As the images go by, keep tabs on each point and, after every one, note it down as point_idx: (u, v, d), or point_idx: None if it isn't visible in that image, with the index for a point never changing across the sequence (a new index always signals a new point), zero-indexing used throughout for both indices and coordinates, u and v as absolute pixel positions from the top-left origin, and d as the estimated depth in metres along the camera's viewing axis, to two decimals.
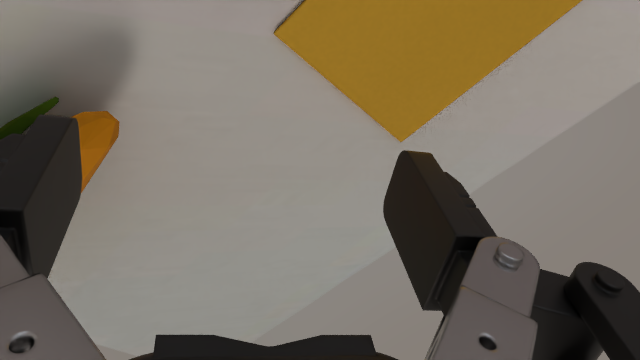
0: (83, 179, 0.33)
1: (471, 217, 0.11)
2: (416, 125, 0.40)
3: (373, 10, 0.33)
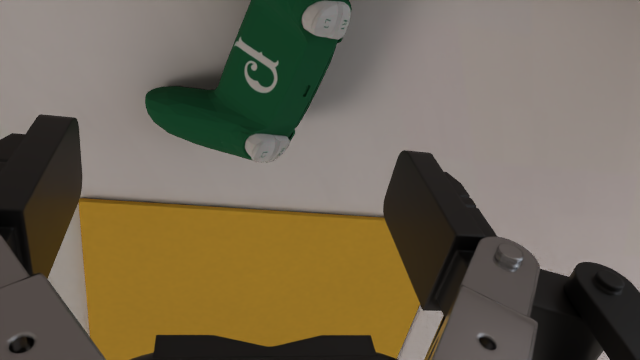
0: None
1: (471, 217, 0.11)
2: None
3: (194, 263, 0.27)
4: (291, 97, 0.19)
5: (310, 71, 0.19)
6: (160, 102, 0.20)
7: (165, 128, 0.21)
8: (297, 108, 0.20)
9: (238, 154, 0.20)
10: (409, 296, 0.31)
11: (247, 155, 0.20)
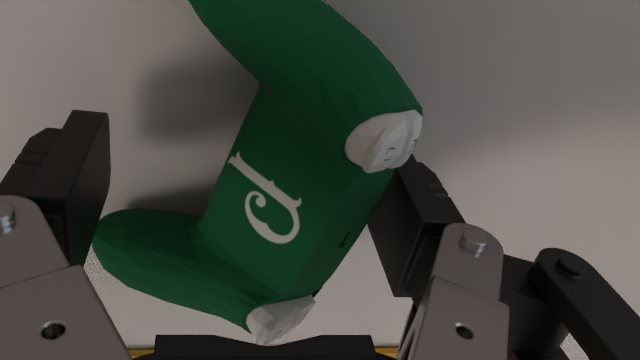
0: None
1: (440, 204, 0.11)
2: None
3: None
4: (321, 252, 0.12)
5: (352, 214, 0.11)
6: (113, 245, 0.13)
7: (122, 282, 0.13)
8: (329, 263, 0.12)
9: None
10: None
11: (250, 331, 0.13)
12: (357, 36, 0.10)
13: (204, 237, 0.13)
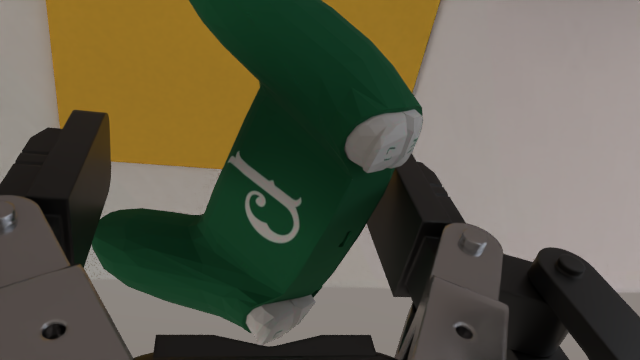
0: None
1: (440, 204, 0.11)
2: None
3: None
4: (321, 252, 0.12)
5: (352, 214, 0.11)
6: (113, 244, 0.13)
7: (122, 281, 0.13)
8: (329, 262, 0.12)
9: (235, 323, 0.13)
10: (404, 65, 0.29)
11: (249, 330, 0.13)
12: (357, 36, 0.10)
13: (204, 237, 0.13)
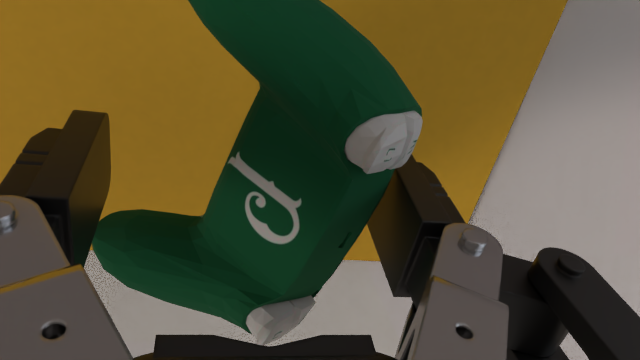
0: None
1: (440, 204, 0.11)
2: None
3: None
4: (321, 253, 0.12)
5: (352, 215, 0.11)
6: (114, 245, 0.13)
7: (122, 282, 0.13)
8: (329, 263, 0.12)
9: (235, 324, 0.13)
10: (499, 97, 0.18)
11: (250, 331, 0.13)
12: (357, 37, 0.10)
13: (204, 237, 0.13)
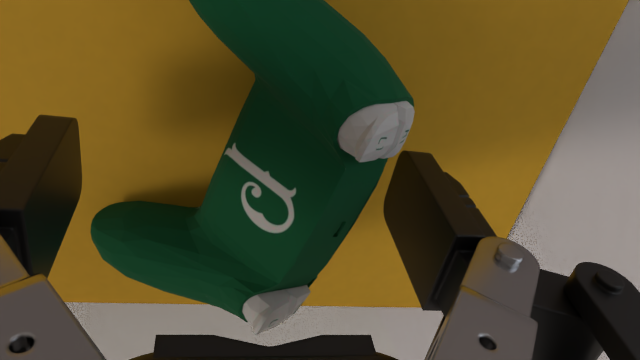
0: None
1: (471, 217, 0.11)
2: None
3: None
4: (315, 242, 0.12)
5: (346, 204, 0.12)
6: (112, 235, 0.13)
7: (121, 272, 0.14)
8: (324, 252, 0.13)
9: (232, 313, 0.13)
10: (534, 131, 0.16)
11: (246, 319, 0.13)
12: (350, 29, 0.10)
13: (201, 228, 0.13)
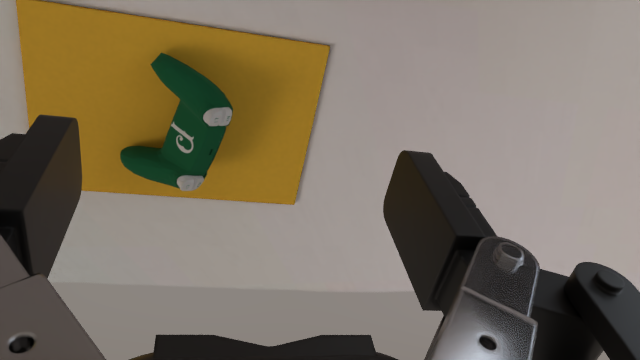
0: None
1: (471, 217, 0.11)
2: None
3: (115, 69, 0.34)
4: (201, 156, 0.34)
5: (211, 142, 0.34)
6: (128, 156, 0.36)
7: (131, 171, 0.36)
8: (206, 161, 0.35)
9: (174, 186, 0.36)
10: (301, 119, 0.38)
11: (178, 187, 0.35)
12: (208, 84, 0.33)
13: (162, 154, 0.36)
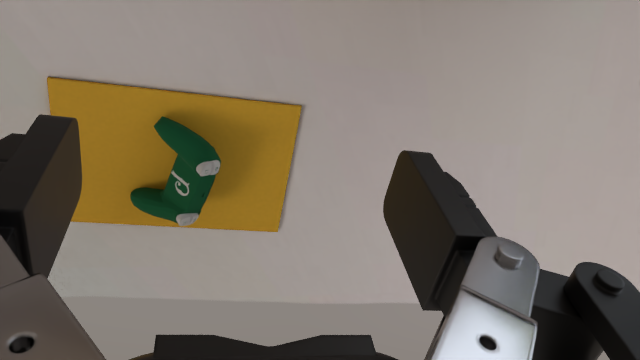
0: None
1: (471, 217, 0.11)
2: (83, 219, 0.46)
3: (126, 128, 0.41)
4: (195, 198, 0.42)
5: (203, 187, 0.42)
6: (137, 197, 0.43)
7: (139, 209, 0.44)
8: (199, 202, 0.43)
9: (174, 221, 0.43)
10: (280, 164, 0.46)
11: (177, 222, 0.43)
12: (200, 141, 0.41)
13: (164, 195, 0.43)
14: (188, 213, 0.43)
